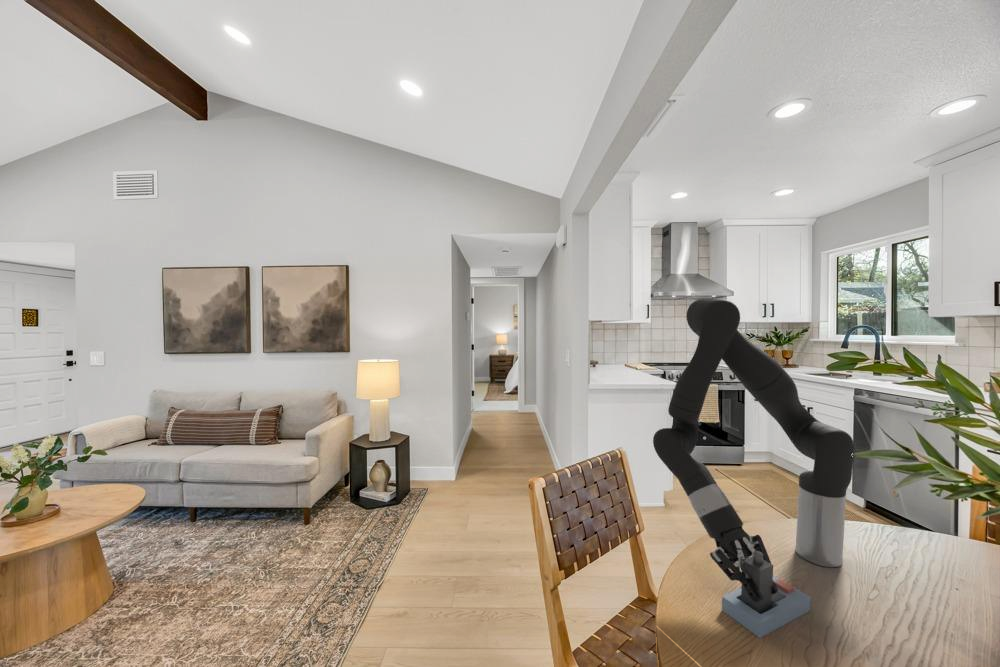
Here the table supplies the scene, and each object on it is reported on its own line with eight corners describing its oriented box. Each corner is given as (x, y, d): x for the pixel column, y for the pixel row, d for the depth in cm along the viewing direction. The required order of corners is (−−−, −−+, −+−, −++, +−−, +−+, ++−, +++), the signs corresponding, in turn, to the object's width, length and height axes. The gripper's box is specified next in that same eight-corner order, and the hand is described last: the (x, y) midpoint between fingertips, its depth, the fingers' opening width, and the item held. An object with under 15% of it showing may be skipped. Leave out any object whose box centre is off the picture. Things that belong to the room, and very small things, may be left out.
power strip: (770, 586, 93) (771, 570, 93) (810, 610, 86) (810, 593, 86) (721, 610, 86) (722, 592, 86) (759, 638, 79) (760, 619, 79)
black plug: (753, 600, 87) (756, 545, 86) (770, 612, 84) (773, 555, 83) (740, 606, 86) (743, 550, 85) (758, 618, 82) (760, 560, 81)
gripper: (702, 511, 87) (757, 604, 77) (747, 497, 93) (803, 582, 83) (681, 523, 92) (729, 612, 82) (724, 509, 98) (775, 590, 88)
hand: (766, 596), depth 83 cm, fingers closed on black plug, 4 cm apart
